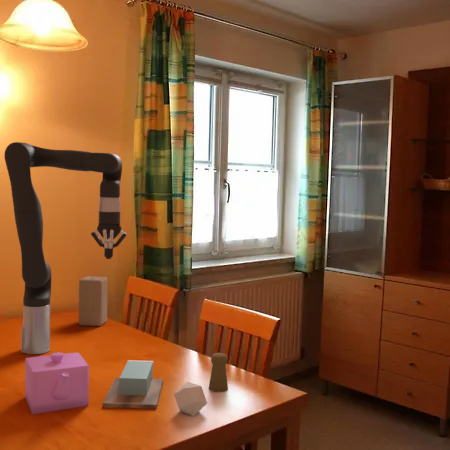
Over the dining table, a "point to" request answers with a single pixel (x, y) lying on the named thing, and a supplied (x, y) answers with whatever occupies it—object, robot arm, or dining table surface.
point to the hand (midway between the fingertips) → (108, 258)
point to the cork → (218, 373)
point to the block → (93, 300)
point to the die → (190, 398)
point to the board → (134, 397)
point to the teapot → (56, 382)
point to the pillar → (136, 378)
